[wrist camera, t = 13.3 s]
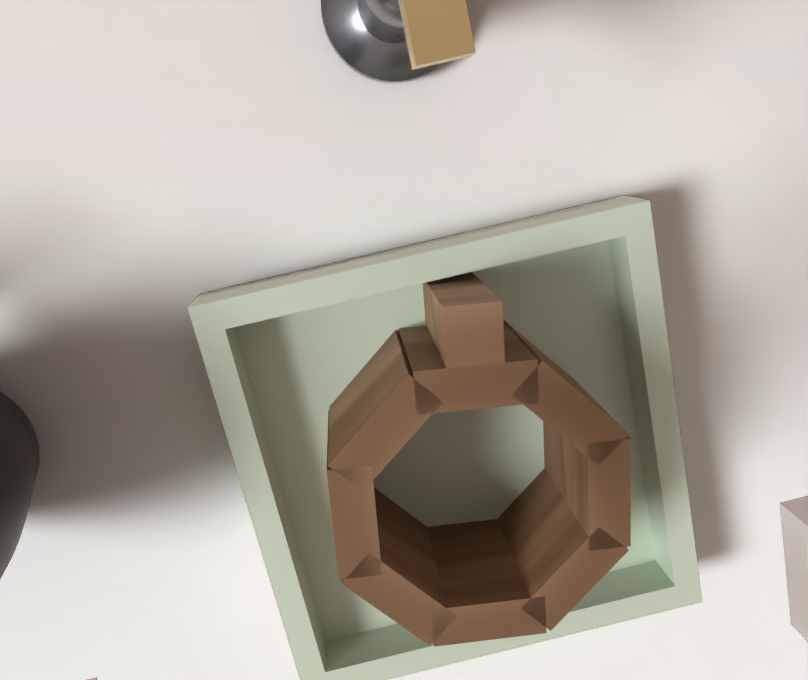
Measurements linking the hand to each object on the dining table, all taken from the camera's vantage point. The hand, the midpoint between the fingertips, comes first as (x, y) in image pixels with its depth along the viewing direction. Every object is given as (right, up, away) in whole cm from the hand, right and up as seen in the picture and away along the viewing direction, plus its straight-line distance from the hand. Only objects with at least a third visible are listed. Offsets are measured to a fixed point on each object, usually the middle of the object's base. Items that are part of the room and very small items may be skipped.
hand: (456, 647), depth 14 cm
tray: (+1, +2, +16) cm, 16 cm away
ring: (+1, +2, +15) cm, 15 cm away
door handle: (-1, +17, +12) cm, 21 cm away
